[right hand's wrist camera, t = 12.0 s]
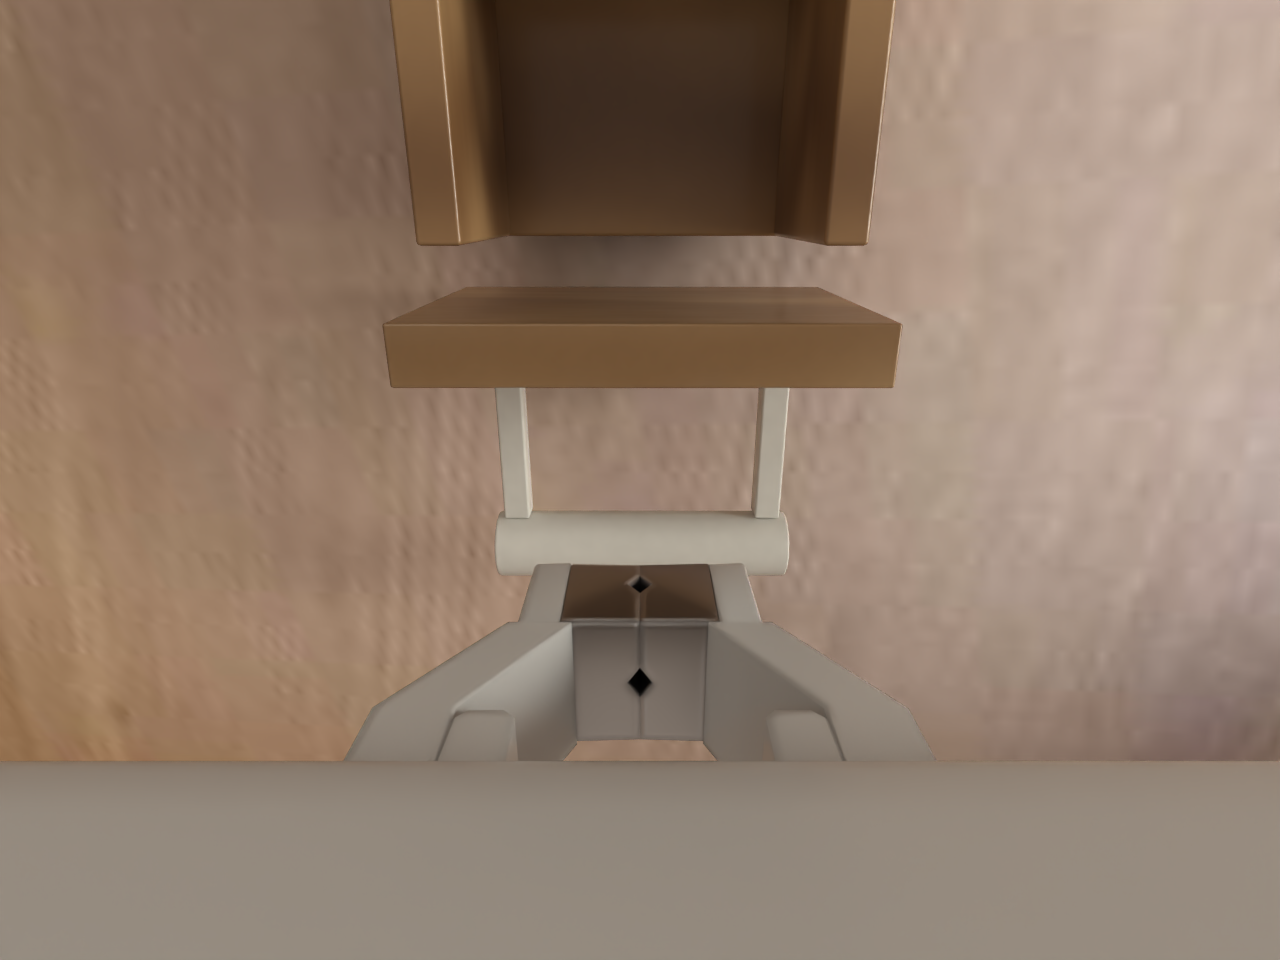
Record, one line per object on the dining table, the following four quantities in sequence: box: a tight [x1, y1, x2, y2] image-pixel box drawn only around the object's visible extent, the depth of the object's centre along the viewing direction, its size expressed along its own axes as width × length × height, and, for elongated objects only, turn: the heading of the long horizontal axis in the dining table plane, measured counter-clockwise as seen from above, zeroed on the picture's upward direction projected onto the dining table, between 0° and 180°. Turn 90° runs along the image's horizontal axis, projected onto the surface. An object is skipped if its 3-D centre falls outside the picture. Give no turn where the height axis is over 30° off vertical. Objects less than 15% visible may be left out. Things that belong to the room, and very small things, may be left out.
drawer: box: [383, 0, 902, 576], centre depth 14 cm, size 23×9×6 cm, turn 0°
